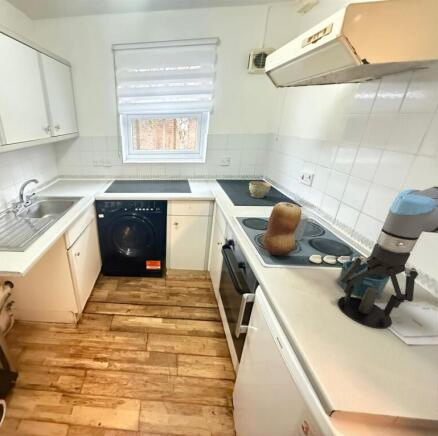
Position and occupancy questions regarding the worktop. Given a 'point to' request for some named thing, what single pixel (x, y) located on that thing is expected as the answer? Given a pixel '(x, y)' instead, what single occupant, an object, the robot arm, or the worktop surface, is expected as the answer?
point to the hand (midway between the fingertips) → (365, 307)
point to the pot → (364, 281)
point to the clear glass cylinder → (301, 227)
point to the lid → (365, 310)
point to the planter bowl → (259, 189)
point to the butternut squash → (282, 228)
